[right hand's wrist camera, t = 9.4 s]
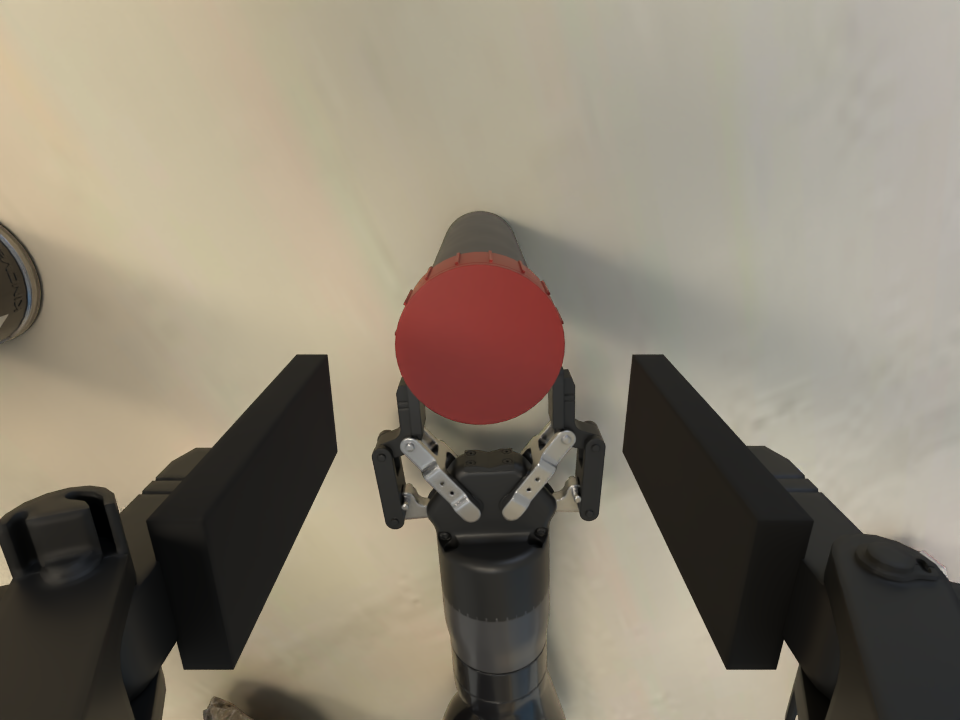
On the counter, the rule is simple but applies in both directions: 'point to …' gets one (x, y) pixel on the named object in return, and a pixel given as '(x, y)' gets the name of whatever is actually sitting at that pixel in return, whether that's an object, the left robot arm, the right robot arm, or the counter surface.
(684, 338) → the counter surface
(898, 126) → the counter surface
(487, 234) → the grey cylinder
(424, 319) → the lid
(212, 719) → the fossil
